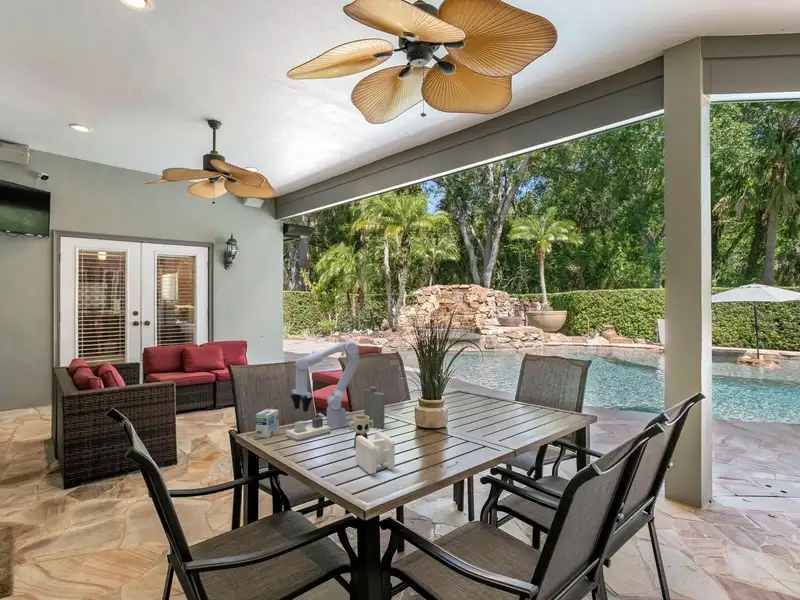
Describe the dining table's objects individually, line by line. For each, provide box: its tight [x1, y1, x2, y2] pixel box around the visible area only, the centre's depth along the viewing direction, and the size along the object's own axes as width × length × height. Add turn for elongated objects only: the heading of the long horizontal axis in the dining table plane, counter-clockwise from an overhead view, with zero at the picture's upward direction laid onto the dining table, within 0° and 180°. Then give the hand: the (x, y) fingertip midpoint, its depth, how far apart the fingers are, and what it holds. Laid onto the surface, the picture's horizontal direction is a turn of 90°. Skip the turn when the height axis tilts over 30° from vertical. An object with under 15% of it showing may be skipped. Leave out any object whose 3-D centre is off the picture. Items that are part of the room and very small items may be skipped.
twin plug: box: [311, 416, 324, 428], centre depth 208 cm, size 4×3×4 cm
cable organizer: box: [355, 431, 396, 475], centre depth 164 cm, size 15×11×12 cm
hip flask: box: [363, 386, 385, 430], centre depth 220 cm, size 16×4×20 cm, turn 37°
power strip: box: [285, 424, 332, 443], centre depth 204 cm, size 18×10×3 cm, turn 135°
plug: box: [293, 420, 307, 433], centre depth 201 cm, size 4×3×6 cm
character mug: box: [348, 414, 373, 448], centre depth 188 cm, size 11×7×13 cm, turn 111°
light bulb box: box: [255, 408, 280, 439], centre depth 205 cm, size 11×7×11 cm, turn 168°
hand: (301, 410), depth 214 cm, fingers open, 7 cm apart
